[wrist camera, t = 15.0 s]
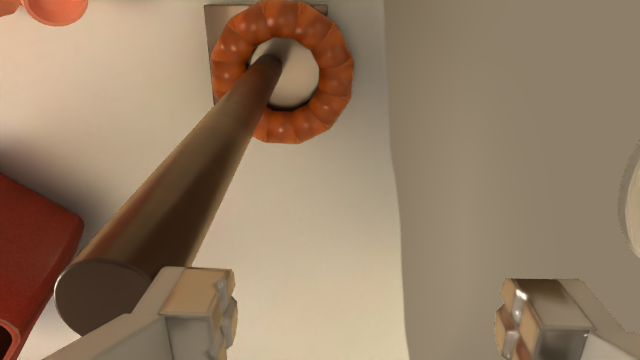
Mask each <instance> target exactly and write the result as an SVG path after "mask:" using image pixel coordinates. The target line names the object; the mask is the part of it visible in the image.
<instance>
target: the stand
mask: <svg viewBox="0 0 640 360" xmlns="http://www.w3.org/2000/svg"><path fill="white" fill-rule="evenodd" d="M252 5H254V4H227V5H204V13H205V23H206V33H207V42H208V52H209V62H210V71H211V81H212V67H211V54H212V51H213V48H214V47H215V45H216V43H217V41H218V39H219V37H220V35H221V33H222V31H223V29H224V27H225V26H226V24H227V22H228V21H229V20H230V19H231V18H232V17H233V16H235V15H237V14H238V13H240V12H242V11H244V10H245V9H247V8H249V7H251V6H252ZM308 5H310V6H311V7H313V8H314V9H316V10H317V11H318V12H320V13H321V14H323V15H324V16H326V17H327V5H326V4H308ZM318 84H319V67H318V65H317V63H316V61H315V59H314V57H313V55H312V53H311V51H310V50H309V49H308V48H306V47H305V46H303V45H302V44H300V43H299V42H297V41H296V40H294V39H287V38H272V39H270V40H268V41H266V42H264V43H262V44H261V45H259V46H257V47H256V48H255V49H254V51H253V53H252V55H251V56H250V58H249V60H248V62H247V64H246V72H245V73H244V74H243V75H242V76H241V77H240V78H239V79H238V80H237V81H236V83H235V84H234V85H233V86H232V87H231V88H230V89H229V90H228V91H227V92H226V93H225V95H224V96H223V97H222V98H221V99H220V100H219V101H218V100H217V98H216V97H215V95H214V92H213V101H214V107H213V108H212V109H211V110H210V111H209V112H208V113H207V114H206V115H205V116H204V117H203V119H202V120H201V121H200V122H199V123H198V124H197V125H196V126H195V127H194V128H193V129H192V131H191V132H190V133H189V134H188V135H187V136H186V137H185V138H184V139H183V140H182V141H181V142H180V144H179V145H178V146H177V147H176V148H175V149H174V150H173V151H172V152H171V153H170V154H169V156H168V157H167V158H166V159H165V160H164V161H163V162H162V163H161V164H160V165H159V166H158V168H157V169H156V170H155V171H154V172H153V173H152V174H151V175H150V176H149V177H148V178H147V180H146V181H145V182H144V183H143V184H142V185H141V186H140V187H139V188H138V189H137V190H136V192H135V193H134V194H133V195H132V196H131V197H130V198H129V199H128V200H127V201H126V202H125V204H124V205H123V206H122V207H121V208H120V209H119V210H118V211H117V212H116V213H115V214H114V216H113V217H112V218H111V219H110V220H109V221H108V222H107V223H106V224H105V225H104V226H103V227H102V229H101V230H100V231H99V232H98V233H97V234H96V235H95V236H94V237H93V238H92V239H91V241H90V242H89V243H88V244H87V245H86V246H85V247H84V248H83V249H82V250H81V251H80V253H79V254H78V255H77V256H76V257H75V258H74V259H73V260H72V261H71V262H70V263H69V265H68V266H67V267H66V268H65V269H64V270H63V271H62V272H61V274H60V275H59V276H58V278H57V280H56V283H55V287H54V302H55V306H56V309H57V311H58V313H59V315H60V317H61V318H62V319H63V321H64V322H65V323H66V324H67V325H68V326H69V327H70V328H71V329H72V330H73V331H75V332H76V333H78V334H79V335H80V336H82V337H83V336H85V335H87V334H88V333H90V332H92V331H94V330H96V329H97V328H99V327H101V326H103V325H104V324H106V323H108V322H110V321H112V320H113V319H115V318H117V317H119V316H121V315H122V314H131V313H132V311H133V310H134V308H135V307H136V305H137V304H138V302H139V301H140V299H141V298H142V297H143V295H144V294H145V292H146V291H147V289H148V288H149V286H150V285H151V283H152V282H153V280H154V279H155V277H156V276H157V274H158V273H159V271H160V270H161V269H162V268H164V267H166V266H175V267H187V268H188V267H191V265H192V263H193V261H194V259H195V257H196V255H197V253H198V251H199V248H200V246H201V244H202V242H203V240H204V238H205V236H206V234H207V231H208V229H209V227H210V225H211V223H212V221H213V219H214V217H215V214H216V212H217V210H218V208H219V206H220V204H221V202H222V200H223V197H224V195H225V193H226V191H227V189H228V187H229V185H230V183H231V180H232V178H233V176H234V174H235V172H236V170H237V168H238V166H239V163H240V161H241V159H242V157H243V155H244V153H245V151H246V149H247V146H248V144H249V142H250V140H251V138H252V136H253V134H254V132H255V129H256V127H257V125H258V123H259V121H260V119H261V117H262V115H263V112H264V110H265V108H266V107H268V108H270V109H271V110H273V111H294V110H296V109H298V108H300V107H302V106H304V105H306V104H308V103H309V101H310V100H311V98H312V97H313V95H314V93H315V92H316V90H317V89H318ZM212 91H213V86H212Z"/></svg>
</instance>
